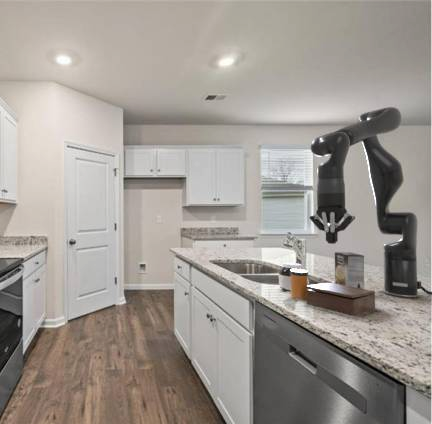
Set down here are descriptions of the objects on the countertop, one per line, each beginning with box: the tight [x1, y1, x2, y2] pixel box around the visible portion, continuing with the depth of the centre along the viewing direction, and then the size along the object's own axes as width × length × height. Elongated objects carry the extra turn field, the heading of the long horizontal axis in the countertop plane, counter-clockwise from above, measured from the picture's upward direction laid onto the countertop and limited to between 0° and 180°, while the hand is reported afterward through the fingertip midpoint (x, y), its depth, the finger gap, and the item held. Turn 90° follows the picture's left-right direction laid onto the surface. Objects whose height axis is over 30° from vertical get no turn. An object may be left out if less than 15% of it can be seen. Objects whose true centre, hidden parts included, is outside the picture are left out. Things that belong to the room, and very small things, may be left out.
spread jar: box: [278, 262, 310, 293], centre depth 120 cm, size 12×11×12 cm
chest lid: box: [305, 282, 376, 298], centre depth 96 cm, size 16×14×1 cm
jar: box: [290, 269, 309, 300], centre depth 107 cm, size 6×6×11 cm
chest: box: [306, 289, 376, 317], centre depth 96 cm, size 15×14×6 cm
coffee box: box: [334, 251, 365, 289], centre depth 117 cm, size 9×6×16 cm
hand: (331, 243), depth 94 cm, fingers closed
